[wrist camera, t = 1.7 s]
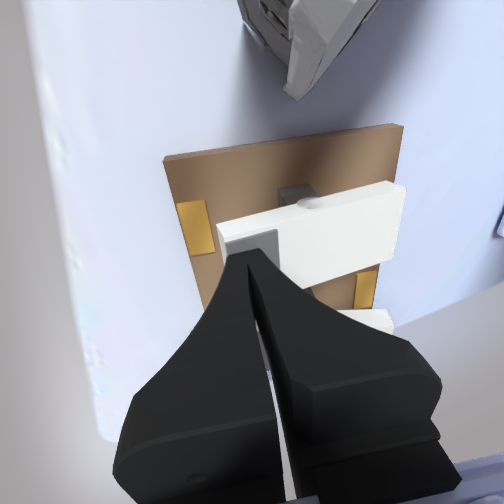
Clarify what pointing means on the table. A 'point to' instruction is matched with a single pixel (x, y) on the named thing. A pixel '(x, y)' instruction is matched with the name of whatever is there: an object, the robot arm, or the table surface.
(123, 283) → the table surface
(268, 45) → the electrical switch
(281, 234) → the front rocker
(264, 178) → the switch board
